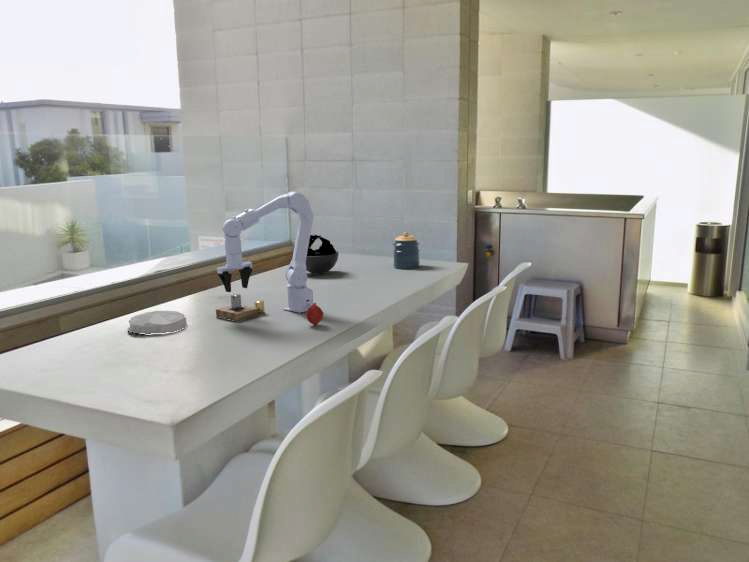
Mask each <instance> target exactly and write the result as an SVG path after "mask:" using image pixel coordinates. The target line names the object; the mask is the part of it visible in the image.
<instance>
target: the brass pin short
mask: <svg viewBox="0 0 749 562" xmlns="http://www.w3.org/2000/svg"><path fill="white" fill-rule="evenodd" d="M253 303H254V306H253V307H256V308H258V309H259V315H263V314H262V313H264V314H265V313H266V311H265V310H266V309H265V301H264V300H255V301H253Z"/></svg>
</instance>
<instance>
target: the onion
mask: <svg viewBox="0 0 749 562" xmlns="http://www.w3.org/2000/svg"><path fill="white" fill-rule="evenodd" d="M305 312H306V313H305V318H306V320H307V322H308V323H310V324H312V325H313V326H317V325H319V323H321V321H322V320H323V318H324V312H323V309H322V308H321V307H320V306H318V305H317V302H313V305H312V306H310V307H309V308H308V310H307V311H305Z"/></svg>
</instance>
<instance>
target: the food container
mask: <svg viewBox="0 0 749 562" xmlns="http://www.w3.org/2000/svg"><path fill="white" fill-rule="evenodd" d="M128 323H129V327H127V332H128V331H130V332H129V333H131V334H135V333H139V334H138V335H141V334H140V333H145V334H151V333H166V332H174V331H177V330H180V329H182V328H184V329H186V328H187V327H188V323H187V317H185V315H184V313H183V312H182V313H181V312H180V311H176V310H175V311H174V310H154V311H153V310H152V311H145V312H144V313H143V312H142V313H139V314H136V315H134V316H131V318H130V319H129V320H128ZM185 327H186V328H185ZM132 332H133V333H132Z"/></svg>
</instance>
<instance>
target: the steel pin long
mask: <svg viewBox="0 0 749 562" xmlns="http://www.w3.org/2000/svg"><path fill="white" fill-rule="evenodd" d="M241 305H242V295H241V294H238V293H237V294H230V306H231V308H232V310H233V311H238V310H242V307H241Z"/></svg>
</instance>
